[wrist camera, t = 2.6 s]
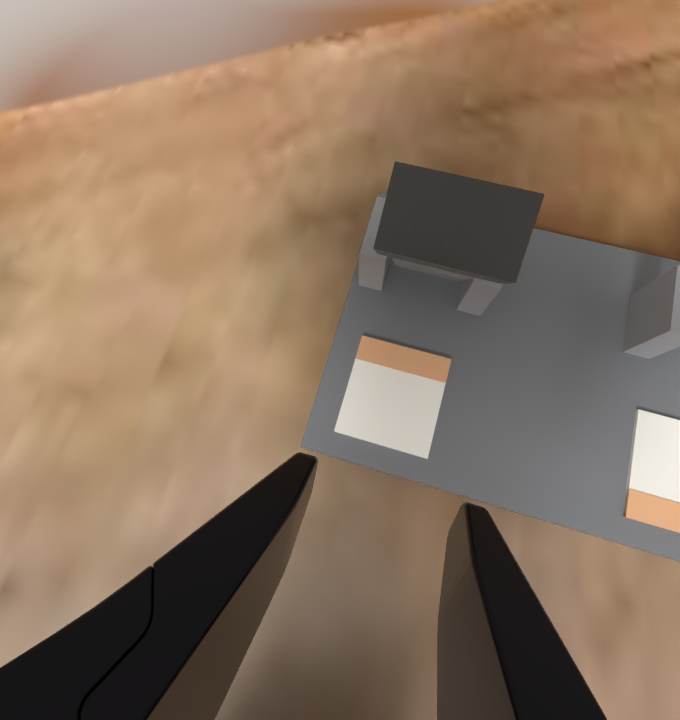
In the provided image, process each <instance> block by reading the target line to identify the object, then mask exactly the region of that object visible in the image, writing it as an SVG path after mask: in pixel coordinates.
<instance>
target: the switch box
mask: <svg viewBox="0 0 680 720" xmlns="http://www.w3.org/2000/svg"><path fill="white" fill-rule="evenodd" d="M386 196H387V195H386V194H382V193H379V196H377V198H376V201H375V205H374V208H373V211H372V214H371V217H370V221H369V224H368V227H367V230H366V233H365V237H364V240H363V243H362V246H361V249H360V253H359V260H358V264H357V267H356V270H355V273H354V276H353V280H352V283H351V286H350V289H349V292H348V296H347V299H346V302H345V305H344V308H343V312H342V315H341V318H340V321H339V325H338V328H337V331H336V334H335V337H334V341H333V344H332V347H331V350H330V353H329V357H328V360H327V363H326V366H325V370H324V373H323V376H322V379H321V382H320V386H319V389H318V392H317V395H316V398H315V402H314V405H313V408H312V411H311V414H310V418H309V421H308V424H307V427H306V431H305V434H304V437H303V440H302V443H301V447H302V448H305V449H308V450H311V451H315V452H318V453H321V454H324V455H328V456H331V457H334V458H338V459H341V460H344V461H348V462H351V463H354V464H358V465H361V466H364V467H368V468H371V469H374V470H378V471H381V472H384V473H388V474H391V475H394V476H397V477H401V478H404V479H407V480H411V481H414V482H417V483H421V484H424V485H427V486H431V487H434V488H437V489H441V490H444V491H447V492H451V493H454V494H457V495H461V496H464V497H467V498H470V499H474V500H477V501H480V502H484V503H487V504H490V505H494V506H497V507H500V508H504V509H507V510H510V511H514V512H517V513H520V514H524V515H527V516H530V517H534V518H537V519H540V520H543V521H547V522H550V523H553V524H557V525H560V526H563V527H567V528H570V529H573V530H577V531H580V532H583V533H587V534H590V535H593V536H597V537H600V538H603V539H606V540H610V541H613V542H616V543H620V544H623V545H626V546H630V547H633V548H636V549H640V550H643V551H646V552H650V553H653V554H656V555H660V556H663V557H666V558H670V559H673V560H676V561H679V562H680V261H677V260H672V259H668V258H663V257H659V256H655V255H650V254H646V253H641V252H637V251H633V250H628V249H624V248H619V247H615V246H611V245H606V244H602V243H597V242H593V241H589V240H584V239H580V238H575V237H571V236H567V235H562V234H558V233H553V232H549V231H545V230H540V229H536V228H533V231H532V234H531V237H530V240H529V243H528V246H527V249H526V253H525V256H524V259H523V262H522V265H521V268H520V271H519V274H518V277H517V280H516V283H510V284H499V283H495V282H490V281H486V280H482V279H478V278H474V279H469V280H463V281H455V280H451V279H447V278H443V277H439V276H435V275H431V274H427V273H423V272H418V271H414V270H410V269H406V268H402V267H398V266H396V265H395V263H394V261H393V260H392V258H391V257H388V256H384V255H380V254H377V253H376V251H375V250H374V249H373V247H374V243H375V239H376V235H377V231H378V227H379V223H380V219H381V215H382V211H383V208H384V204H385V200H386Z"/></svg>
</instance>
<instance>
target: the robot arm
mask: <svg viewBox="0 0 680 720" xmlns="http://www.w3.org/2000/svg"><path fill="white" fill-rule="evenodd" d="M317 463H318V460H317V458H316V457H315V456H311V455H308V454H305V453H301V452H299V453H296V454H295V455H293V456H292V457H291V458H290V459H288V460H287V461H286V462H284V463H283V464H282V465H280V466H279V467H278V468H277V469H275V470H274V471H273V472H271V473H270V474H269V475H267V476H266V477H265V478H264V479H262V480H261V481H260V482H258V483H257V484H256V485H254V486H253V487H252V488H251V489H249V490H248V491H247V492H245V493H244V494H243V495H241V496H240V497H239V498H238V499H236V500H235V501H234V502H232V503H231V504H230V505H228V506H227V507H226V508H225V509H223V510H222V511H221V512H219V513H218V514H217V515H215V516H214V517H213V518H212V519H210V520H209V521H208V522H206V523H205V524H204V525H202V526H201V527H200V528H198V529H197V530H196V531H195V532H193V533H192V534H191V535H189V536H188V537H187V538H185V539H184V540H183V541H182V542H180V543H179V544H178V545H176V546H175V547H174V548H172V549H171V550H170V551H169V552H167V553H166V554H165V555H163V556H162V557H161V558H159V559H158V560H157V561H156V562H154V564H153V567H152V566H149V567H147V568H146V569H145V570H143V571H142V572H141V573H140V574H138V575H137V576H136V577H134V578H133V579H132V580H131V581H129V582H128V583H127V584H125V585H124V586H123V587H121V588H120V589H118V590H117V591H116V592H114V593H113V594H112V595H110V596H109V597H107V598H106V599H105V600H103V601H102V602H101V603H99V604H98V605H96V606H95V607H94V608H92V609H91V610H89V611H88V612H86V613H85V614H83V615H82V616H80V617H79V618H77V619H76V620H74V621H72V622H71V623H69V624H68V625H66V626H65V627H63V628H62V629H60V630H59V631H57V632H56V633H54V634H53V635H51V636H50V637H48V638H46V639H45V640H43V641H42V642H40V643H39V644H37V645H35V646H34V647H32V648H31V649H29V650H28V651H26V652H24V653H23V654H21V655H20V656H18V657H17V658H15V659H13V660H12V661H10V662H9V663H7V664H6V665H4V666H2V667H1V668H0V720H215V718H216V715H217V713H218V711H219V709H220V707H221V705H222V703H223V701H224V699H225V696H226V694H227V692H228V690H229V688H230V686H231V684H232V682H233V680H234V677H235V675H236V673H237V671H238V669H239V667H240V665H241V663H242V661H243V658H244V656H245V654H246V652H247V650H248V648H249V646H250V644H251V642H252V639H253V637H254V635H255V633H256V631H257V629H258V627H259V625H260V623H261V620H262V618H263V616H264V614H265V612H266V610H267V608H268V606H269V604H270V601H271V599H272V597H273V595H274V593H275V591H276V589H277V587H278V585H279V582H280V580H281V578H282V576H283V573H284V571H285V569H286V566H287V563H288V561H289V558H290V555H291V552H292V549H293V546H294V543H295V540H296V537H297V534H298V531H299V528H300V525H301V522H302V519H303V517H304V514H305V511H306V508H307V505H308V502H309V499H310V496H311V492H312V488H313V484H314V479H315V474H316V469H317ZM437 720H607V718H606V716H605V715H604V713H603V711H602V709H601V708H600V706H599V704H598V702H597V701H596V699H595V697H594V695H593V694H592V692H591V690H590V689H589V687H588V685H587V683H586V682H585V680H584V678H583V676H582V675H581V673H580V671H579V669H578V668H577V666H576V664H575V662H574V661H573V659H572V657H571V655H570V654H569V652H568V650H567V648H566V647H565V645H564V643H563V641H562V640H561V638H560V636H559V634H558V633H557V631H556V629H555V628H554V626H553V624H552V622H551V621H550V619H549V617H548V615H547V614H546V612H545V610H544V608H543V607H542V605H541V603H540V601H539V600H538V598H537V596H536V594H535V593H534V591H533V589H532V587H531V586H530V584H529V582H528V580H527V579H526V577H525V575H524V573H523V572H522V570H521V568H520V567H519V565H518V563H517V561H516V560H515V558H514V556H513V554H512V553H511V551H510V549H509V547H508V546H507V544H506V542H505V540H504V539H503V537H502V535H501V533H500V532H499V530H498V528H497V526H496V525H495V523H494V521H493V519H492V518H491V516H490V514H489V512H488V511H487V510H486V509H485V508H483V507H480V506H477V505H474V504H471V503H463V504H462V505H461V507H460V509H459V511H458V513H457V515H456V517H455V520H454V522H453V524H452V526H451V528H450V530H449V534H448V538H447V544H446V553H445V562H444V571H443V579H442V588H441V597H440V605H439V615H438V635H437Z"/></svg>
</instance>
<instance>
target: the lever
mask: <svg viewBox="0 0 680 720" xmlns="http://www.w3.org/2000/svg"><path fill="white" fill-rule="evenodd" d="M543 197H544V194H541V193H537V192H532V191H528V190H523V189H519V188H514V187H509V186H505V185H500V184H496V183H491V182H486V181H482V180H477V179H473V178H468V177H464V176H459V175H454V174H450V173H445V172H441V171H436V170H432V169H427V168H422V167H418V166H413V165H409V164H404V163H399V162H395V164H394V168H393V172H392V176H391V180H390V184H389V188H388V192H387V196H386V200H385V204H384V208H383V211H382V215H381V219H380V223H379V227H378V231H377V235H376V239H375V243H374V247H373V249H374V250H375V251H376V253H377V254H380V255H384V256H388V257H391V258H392V260H393V261H394V263H395V265H396V266H398V267H402V268H406V269H410V270H414V271H418V272H423V273H427V274H431V275H435V276H439V277H443V278H447V279H451V280H455V281H463V280H469V279H474V278H478V279H482V280H486V281H490V282H495V283H499V284H510V283H516V280H517V277H518V274H519V271H520V268H521V265H522V262H523V259H524V256H525V253H526V249H527V246H528V243H529V240H530V237H531V234H532V231H533V228H534V225H535V222H536V219H537V215H538V212H539V209H540V206H541V203H542V200H543Z"/></svg>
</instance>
